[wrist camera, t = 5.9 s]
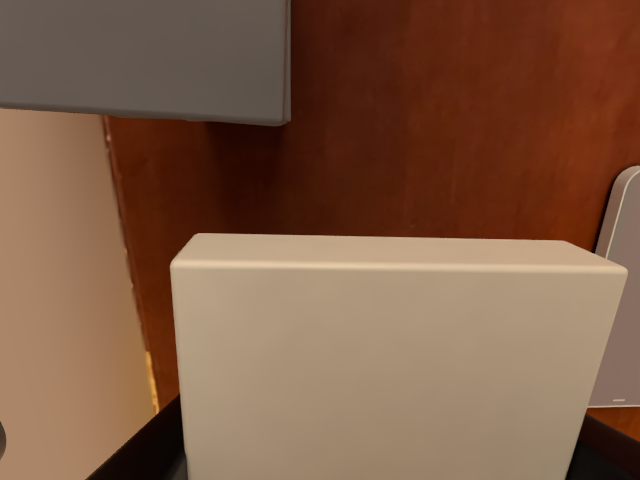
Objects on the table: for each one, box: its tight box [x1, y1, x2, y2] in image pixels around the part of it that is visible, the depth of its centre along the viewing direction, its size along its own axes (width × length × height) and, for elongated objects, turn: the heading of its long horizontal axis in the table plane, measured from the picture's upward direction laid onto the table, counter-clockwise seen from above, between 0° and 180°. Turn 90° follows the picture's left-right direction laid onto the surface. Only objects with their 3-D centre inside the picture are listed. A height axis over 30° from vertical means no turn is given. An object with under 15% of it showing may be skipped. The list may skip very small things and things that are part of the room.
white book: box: [170, 233, 628, 480], centre depth 6 cm, size 6×7×1 cm
